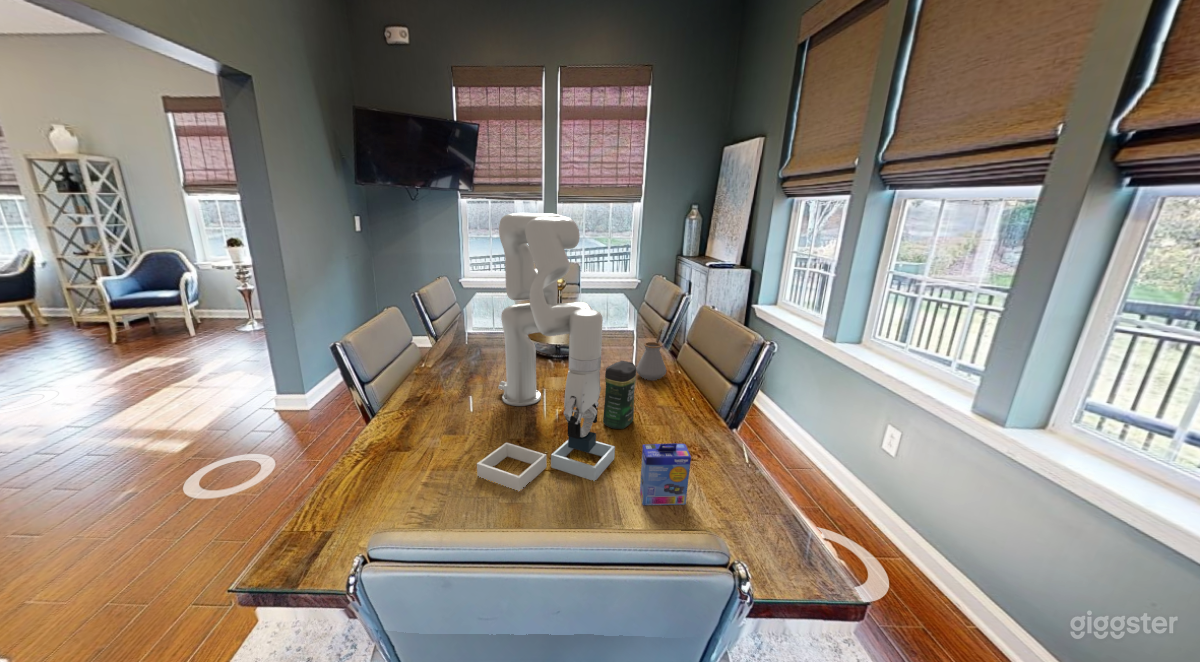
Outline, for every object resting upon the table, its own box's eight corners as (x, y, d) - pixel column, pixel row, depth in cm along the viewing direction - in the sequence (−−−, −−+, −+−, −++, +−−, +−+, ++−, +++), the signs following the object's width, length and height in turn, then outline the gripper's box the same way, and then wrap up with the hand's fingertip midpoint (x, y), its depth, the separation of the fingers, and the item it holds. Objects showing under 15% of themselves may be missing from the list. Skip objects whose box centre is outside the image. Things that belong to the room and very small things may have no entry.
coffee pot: (662, 384, 162) (665, 345, 158) (632, 379, 165) (633, 341, 161) (673, 365, 181) (676, 330, 177) (646, 362, 185) (648, 327, 181)
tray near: (477, 476, 104) (476, 463, 103) (506, 454, 114) (506, 442, 113) (519, 491, 99) (519, 478, 98) (546, 467, 109) (546, 454, 108)
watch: (598, 440, 113) (600, 401, 110) (585, 456, 106) (586, 414, 103) (579, 435, 115) (580, 396, 112) (564, 450, 108) (565, 409, 105)
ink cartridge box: (642, 507, 95) (646, 446, 91) (638, 491, 100) (641, 433, 97) (687, 505, 96) (693, 446, 92) (681, 490, 101) (686, 432, 97)
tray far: (551, 467, 109) (551, 454, 108) (573, 446, 118) (573, 435, 117) (594, 481, 104) (595, 468, 103) (614, 458, 113) (614, 446, 112)
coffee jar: (623, 432, 126) (626, 371, 121) (599, 425, 130) (600, 366, 125) (637, 419, 134) (640, 361, 129) (614, 413, 138) (616, 356, 133)
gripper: (587, 349, 113) (585, 411, 118) (551, 371, 98) (550, 441, 103) (614, 354, 110) (611, 418, 115) (581, 378, 95) (578, 450, 100)
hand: (582, 428), depth 109 cm, fingers closed on watch, 8 cm apart
